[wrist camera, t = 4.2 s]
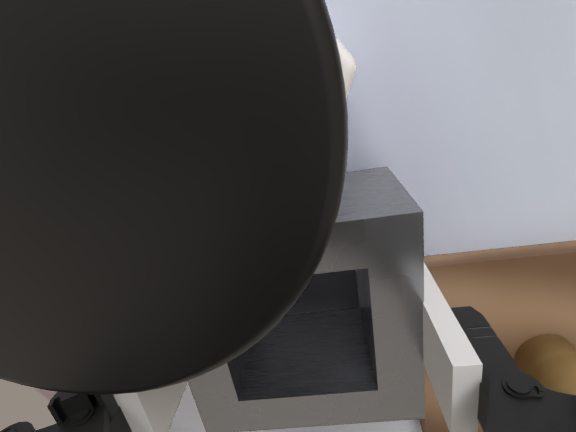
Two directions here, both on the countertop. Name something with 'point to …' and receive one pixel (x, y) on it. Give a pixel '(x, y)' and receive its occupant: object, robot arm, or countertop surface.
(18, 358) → the jar
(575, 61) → the countertop surface
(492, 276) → the keeper
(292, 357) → the grey hollow block
